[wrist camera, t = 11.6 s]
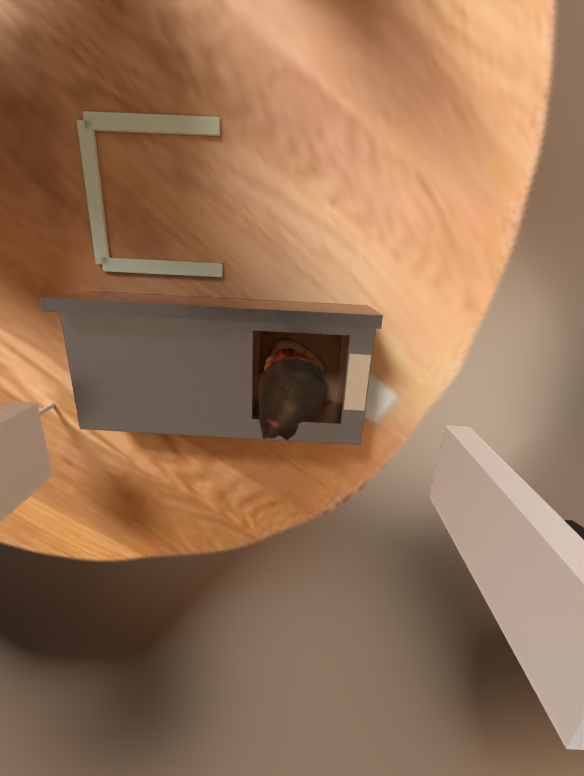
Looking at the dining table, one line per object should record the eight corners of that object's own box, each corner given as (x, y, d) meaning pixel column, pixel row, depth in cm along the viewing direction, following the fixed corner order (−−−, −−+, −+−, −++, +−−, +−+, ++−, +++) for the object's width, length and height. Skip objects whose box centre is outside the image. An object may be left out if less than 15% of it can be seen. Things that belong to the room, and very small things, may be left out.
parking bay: (98, 270, 32) (96, 270, 32) (78, 112, 28) (75, 110, 28) (223, 276, 32) (221, 277, 32) (220, 118, 28) (218, 116, 28)
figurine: (324, 393, 36) (334, 453, 24) (270, 395, 36) (255, 455, 25) (323, 332, 34) (333, 366, 22) (266, 334, 34) (246, 369, 22)
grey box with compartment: (108, 408, 37) (65, 439, 30) (92, 291, 33) (39, 297, 26) (353, 421, 37) (364, 456, 30) (366, 305, 33) (382, 315, 26)
